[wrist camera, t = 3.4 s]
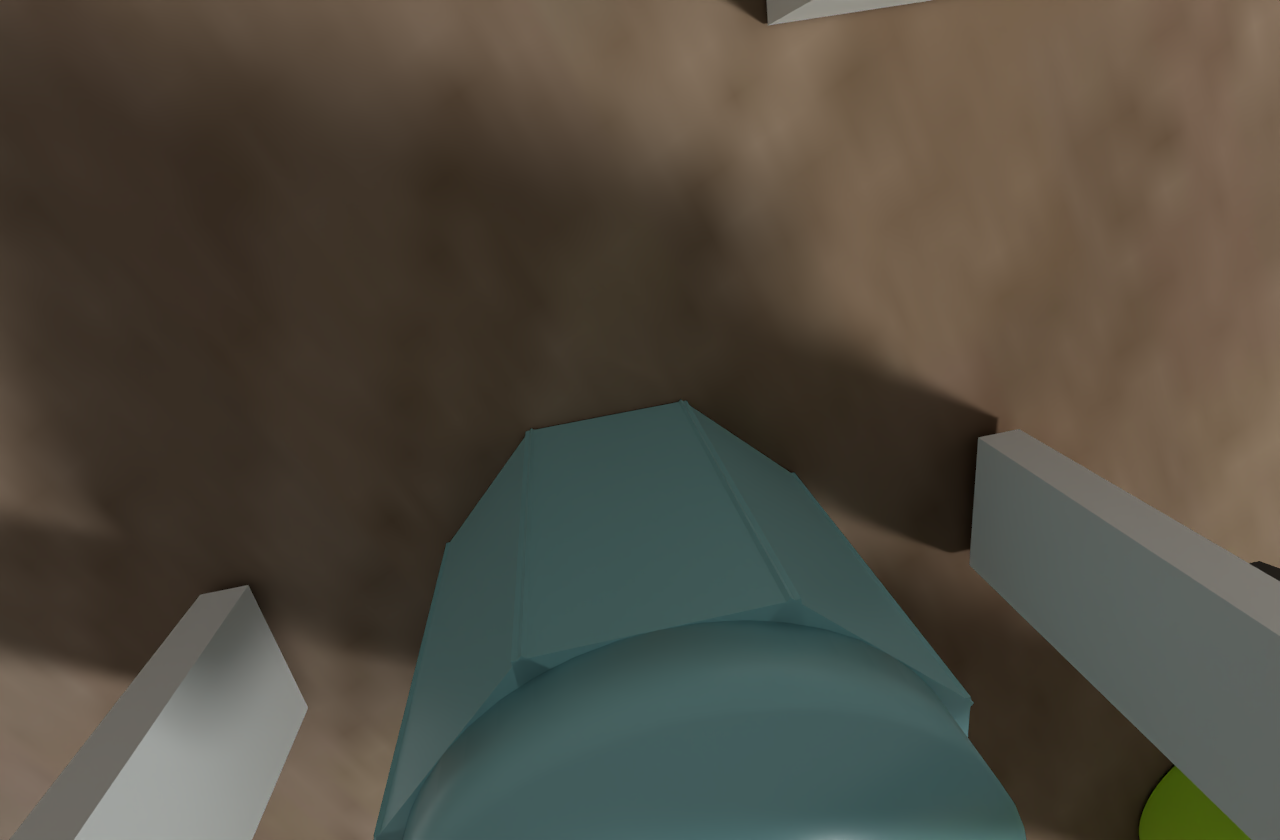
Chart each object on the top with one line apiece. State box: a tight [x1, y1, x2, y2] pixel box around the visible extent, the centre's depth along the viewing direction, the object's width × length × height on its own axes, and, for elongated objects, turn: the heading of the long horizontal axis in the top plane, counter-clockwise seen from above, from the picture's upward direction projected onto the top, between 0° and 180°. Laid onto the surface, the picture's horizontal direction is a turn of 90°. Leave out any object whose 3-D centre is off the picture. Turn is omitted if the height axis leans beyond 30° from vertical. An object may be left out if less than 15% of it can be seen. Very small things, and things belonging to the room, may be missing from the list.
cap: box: [374, 399, 1026, 840], centre depth 9 cm, size 6×6×6 cm
